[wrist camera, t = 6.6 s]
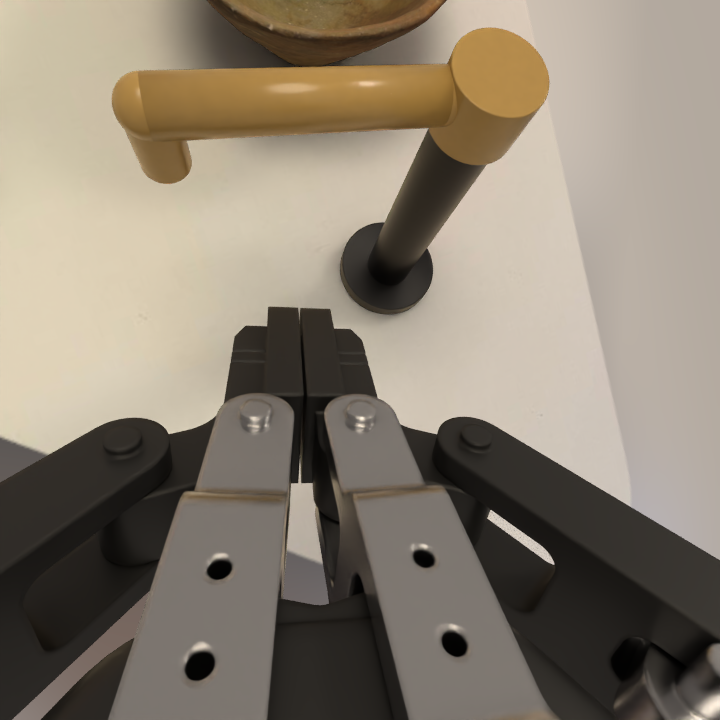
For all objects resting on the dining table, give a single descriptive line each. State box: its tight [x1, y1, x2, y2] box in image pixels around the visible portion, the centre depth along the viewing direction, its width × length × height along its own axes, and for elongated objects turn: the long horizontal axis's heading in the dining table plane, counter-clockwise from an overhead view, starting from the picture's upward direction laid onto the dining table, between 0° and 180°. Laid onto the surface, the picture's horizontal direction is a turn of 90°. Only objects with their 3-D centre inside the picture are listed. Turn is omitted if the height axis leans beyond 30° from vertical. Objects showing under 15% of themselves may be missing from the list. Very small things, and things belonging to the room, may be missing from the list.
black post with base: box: [340, 129, 487, 314], centre depth 29 cm, size 7×7×16 cm
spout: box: [112, 28, 549, 184], centre depth 19 cm, size 16×4×4 cm, turn 101°
